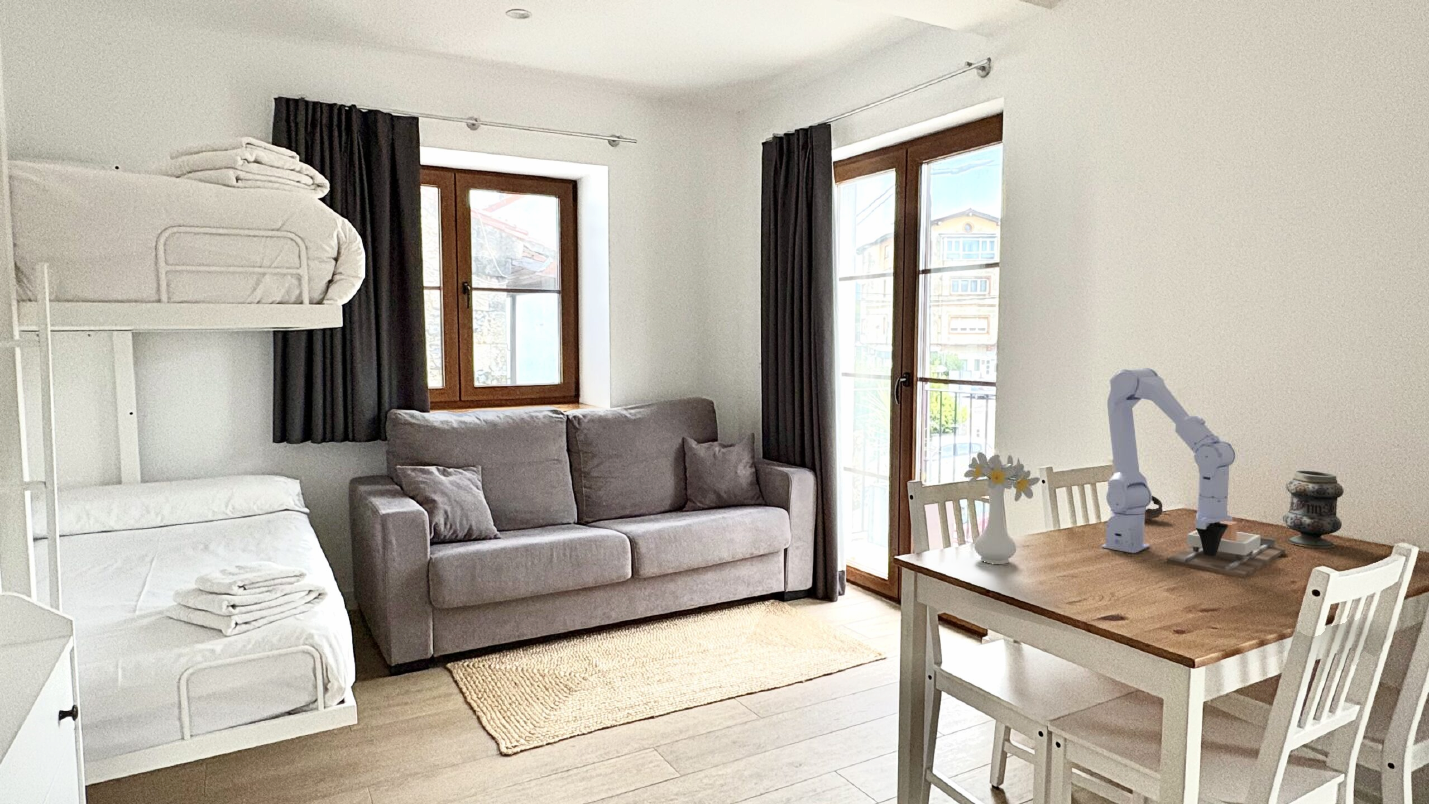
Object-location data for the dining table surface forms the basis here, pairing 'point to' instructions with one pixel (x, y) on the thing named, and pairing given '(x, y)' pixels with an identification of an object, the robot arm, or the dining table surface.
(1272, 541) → the track board
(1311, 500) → the apothecary jar
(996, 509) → the flower vase
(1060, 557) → the dining table surface
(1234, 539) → the terracotta block
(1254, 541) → the white square tray
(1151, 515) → the pottery mug
